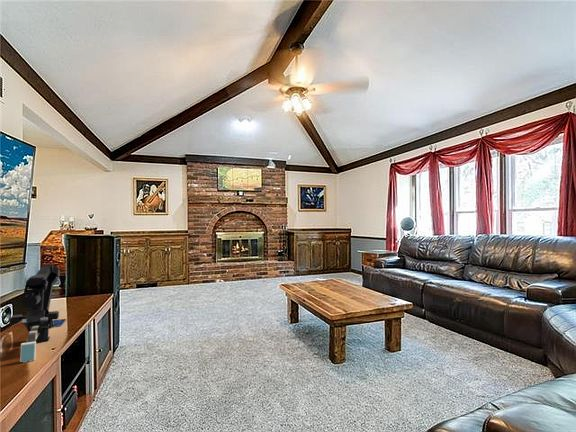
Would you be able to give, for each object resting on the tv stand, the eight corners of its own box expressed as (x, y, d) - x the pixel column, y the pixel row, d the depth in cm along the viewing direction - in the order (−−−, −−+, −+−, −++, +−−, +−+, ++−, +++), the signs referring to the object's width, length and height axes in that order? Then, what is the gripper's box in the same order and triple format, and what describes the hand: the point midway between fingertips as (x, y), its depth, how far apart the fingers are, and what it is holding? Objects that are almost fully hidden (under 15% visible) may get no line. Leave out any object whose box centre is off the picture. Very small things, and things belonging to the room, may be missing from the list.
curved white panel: (32, 334, 160) (32, 326, 160) (39, 333, 162) (39, 325, 162) (27, 343, 148) (27, 334, 148) (34, 342, 150) (35, 333, 150)
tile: (21, 361, 143) (21, 343, 143) (35, 359, 146) (36, 341, 146) (20, 363, 141) (20, 344, 141) (34, 360, 144) (35, 342, 144)
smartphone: (46, 327, 188) (53, 319, 202) (46, 328, 188) (53, 321, 202) (61, 325, 191) (67, 318, 205) (61, 327, 191) (67, 320, 205)
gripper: (6, 309, 145) (5, 343, 145) (57, 304, 155) (55, 337, 155) (12, 303, 155) (11, 335, 155) (59, 299, 165) (58, 330, 164)
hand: (34, 334), depth 157 cm, fingers closed on curved white panel, 3 cm apart
